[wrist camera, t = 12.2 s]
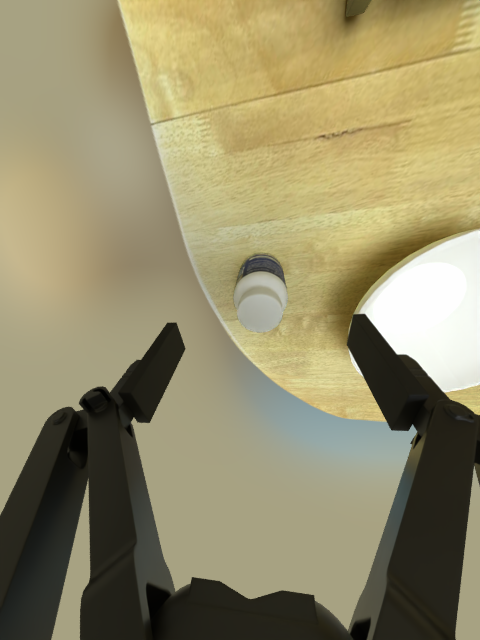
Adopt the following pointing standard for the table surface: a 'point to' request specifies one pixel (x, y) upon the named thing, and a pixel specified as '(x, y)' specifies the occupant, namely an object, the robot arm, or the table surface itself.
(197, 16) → the table surface
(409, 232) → the table surface
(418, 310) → the bowl
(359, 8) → the drawer
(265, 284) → the pill bottle
